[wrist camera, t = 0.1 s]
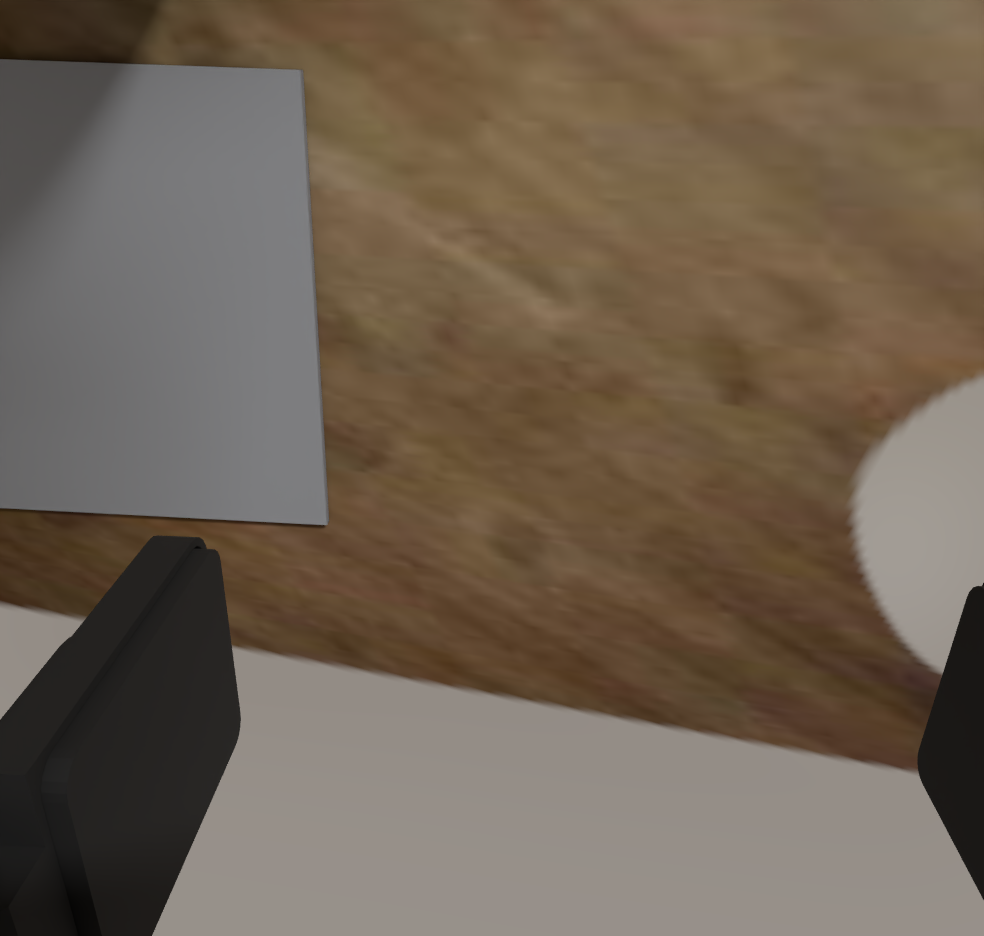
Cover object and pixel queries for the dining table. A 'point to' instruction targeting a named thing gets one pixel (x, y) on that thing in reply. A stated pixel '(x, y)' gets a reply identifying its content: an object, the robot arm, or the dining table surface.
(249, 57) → the dining table surface
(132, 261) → the mat
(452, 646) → the dining table surface
